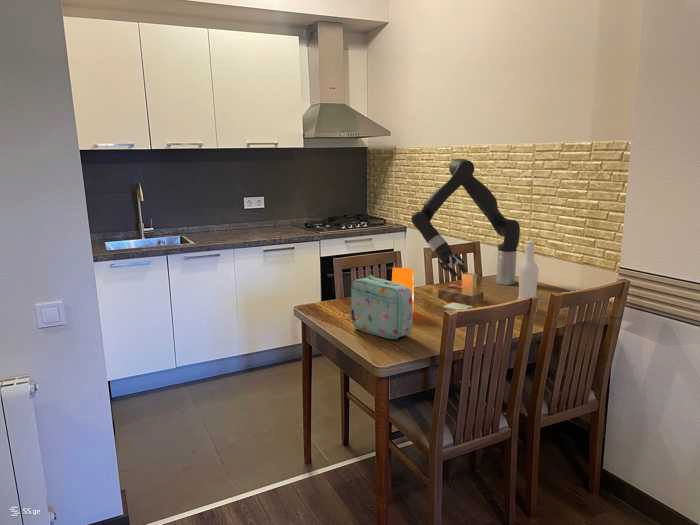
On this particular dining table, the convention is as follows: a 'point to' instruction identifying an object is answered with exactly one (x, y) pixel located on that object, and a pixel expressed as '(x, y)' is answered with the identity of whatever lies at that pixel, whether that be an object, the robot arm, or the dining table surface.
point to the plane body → (459, 294)
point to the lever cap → (469, 284)
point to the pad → (456, 306)
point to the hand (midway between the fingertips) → (460, 274)
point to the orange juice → (404, 278)
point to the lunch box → (381, 307)
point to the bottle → (528, 273)
